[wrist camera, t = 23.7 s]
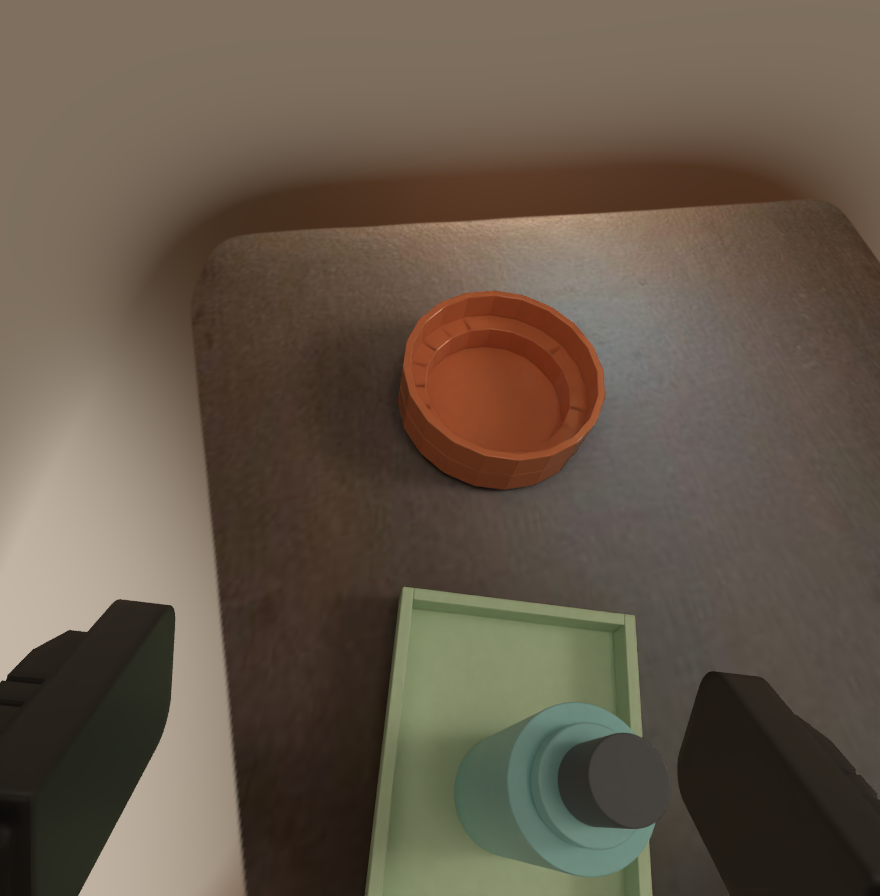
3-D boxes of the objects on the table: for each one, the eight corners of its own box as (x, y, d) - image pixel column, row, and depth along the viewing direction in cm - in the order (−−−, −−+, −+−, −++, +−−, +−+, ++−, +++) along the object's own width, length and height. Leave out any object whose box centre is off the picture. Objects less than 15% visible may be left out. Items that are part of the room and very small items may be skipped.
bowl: (387, 477, 46) (392, 442, 41) (408, 321, 52) (415, 277, 48) (583, 504, 47) (608, 473, 42) (579, 348, 54) (600, 307, 49)
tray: (350, 1015, 32) (351, 1031, 29) (399, 598, 42) (402, 586, 39) (640, 1036, 33) (662, 1053, 30) (619, 625, 43) (635, 615, 40)
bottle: (450, 851, 35) (538, 881, 20) (457, 729, 38) (540, 672, 23) (560, 862, 35) (730, 899, 20) (559, 740, 38) (707, 692, 23)
